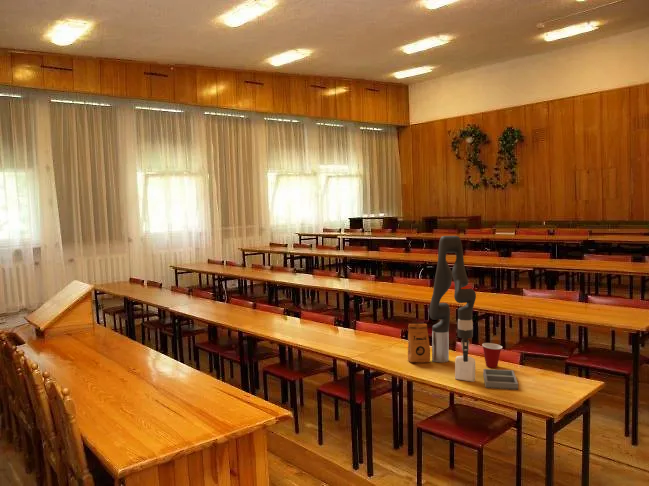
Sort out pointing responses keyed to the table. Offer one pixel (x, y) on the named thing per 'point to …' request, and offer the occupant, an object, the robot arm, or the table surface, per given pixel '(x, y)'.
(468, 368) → the beige rounded slab
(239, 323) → the table surface
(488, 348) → the plastic cup
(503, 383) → the grey divided tray
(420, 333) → the coffee package
